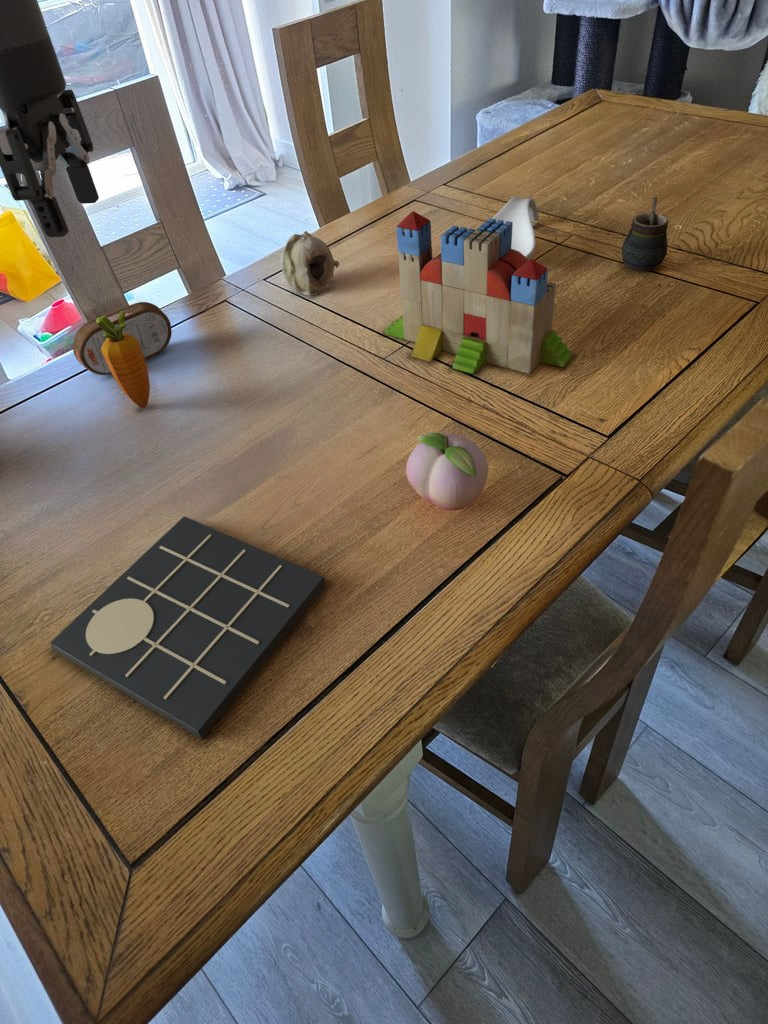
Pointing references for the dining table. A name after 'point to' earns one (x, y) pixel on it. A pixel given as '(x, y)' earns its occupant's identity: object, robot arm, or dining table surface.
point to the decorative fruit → (447, 470)
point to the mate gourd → (646, 241)
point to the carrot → (125, 360)
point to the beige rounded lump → (307, 264)
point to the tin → (140, 323)
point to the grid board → (190, 623)
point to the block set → (475, 298)
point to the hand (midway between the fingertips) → (74, 218)
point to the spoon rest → (521, 223)
